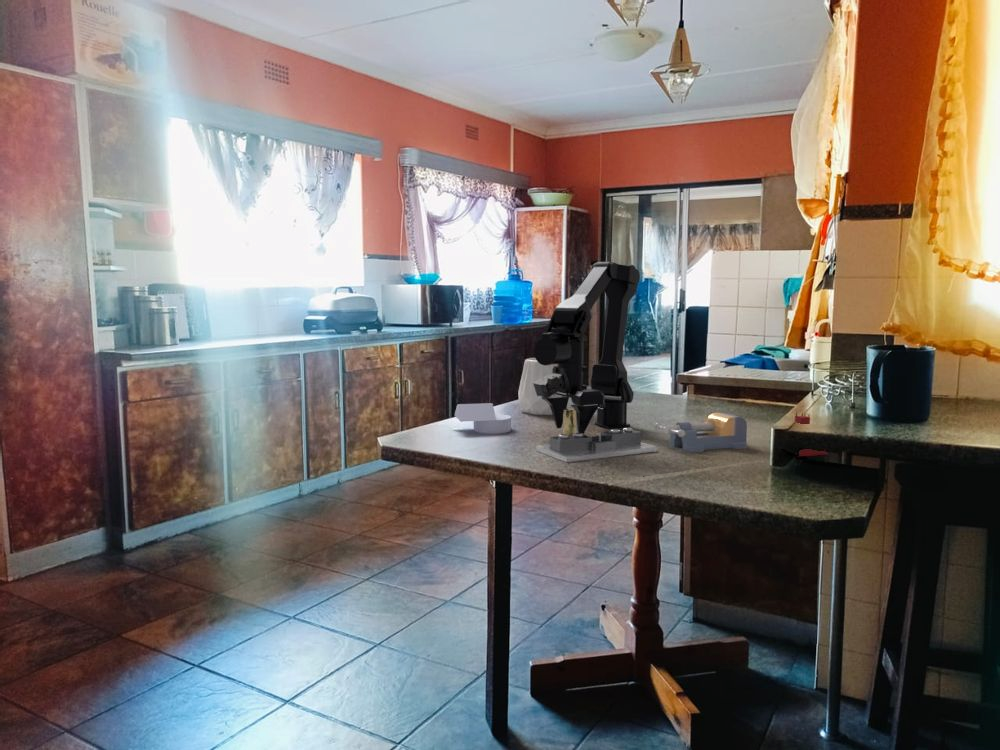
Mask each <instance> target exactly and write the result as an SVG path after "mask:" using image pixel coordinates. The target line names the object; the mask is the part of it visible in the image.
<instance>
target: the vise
mask: <svg viewBox="0 0 1000 750" xmlns="http://www.w3.org/2000/svg"><path fill="white" fill-rule="evenodd" d="M654 429H655V430H657V431H660V430H663V432H664V434H665V435H669V434H670V438H669V439H670V440H669V446H670V447H682V451H685V452H689V453H703V452H704V451H705V450H706V451H707V450H708V451H709V450H717V449H733V450H734V449H735V450H745V449H748V443H747V436H748V435H747V432H748V431H747V429H748V425H747V421H746V419H745V418H744V417H742V416H737V415H733V414H730V413H726V412H712V413H711V414H709V415H708V417H707V418H706V421H703V422H702V423H690V422H689V421H683V422H681V421H680V422H676V423H675V425H665V426H663V425H662V423H661V422H656V423H655V424H654Z"/></svg>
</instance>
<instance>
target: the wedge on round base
mask: <svg viewBox="0 0 1000 750" xmlns="http://www.w3.org/2000/svg"><path fill="white" fill-rule="evenodd" d="M454 417H455V418H456V419H457V420H458V421H459V422H473V431H474V432H476V433H481V434H504V433H508V432H511V431H512V416H511V415H509V414H502V413H495V407H494V404H493V403H491V402H487V403H486V402H483V403H459V404H457V405H456V409H455V411H454Z"/></svg>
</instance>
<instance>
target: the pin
mask: <svg viewBox="0 0 1000 750" xmlns="http://www.w3.org/2000/svg"><path fill="white" fill-rule="evenodd" d="M573 433H577V415H576V411H575V410H574V408H567V409H563V424H562V434H567V435H573Z"/></svg>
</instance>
